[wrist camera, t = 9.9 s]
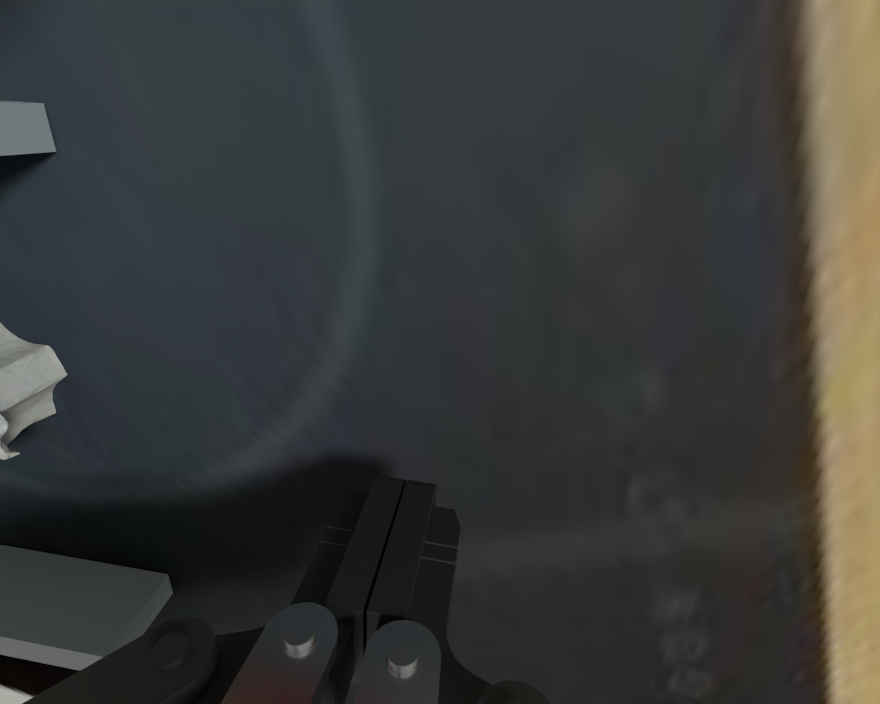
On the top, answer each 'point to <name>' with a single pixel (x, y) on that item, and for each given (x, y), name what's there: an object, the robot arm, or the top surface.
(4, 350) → the egg carton
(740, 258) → the top surface
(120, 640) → the grey u-shaped frame
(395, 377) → the top surface
